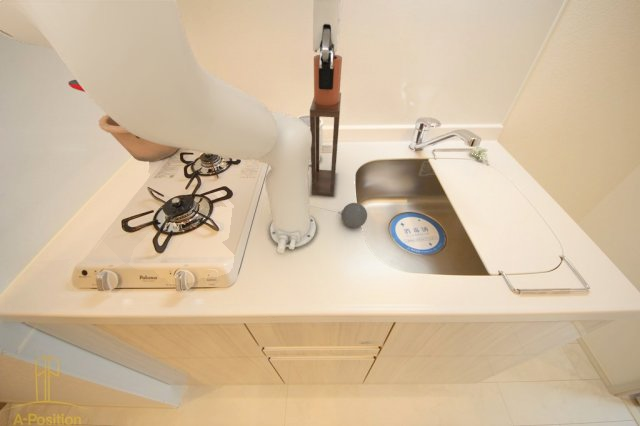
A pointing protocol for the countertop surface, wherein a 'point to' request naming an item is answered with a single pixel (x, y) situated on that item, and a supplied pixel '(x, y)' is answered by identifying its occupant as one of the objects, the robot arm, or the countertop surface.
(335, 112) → the shelf stand
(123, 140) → the pottery
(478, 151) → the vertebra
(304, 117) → the jar
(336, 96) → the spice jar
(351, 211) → the lollipop
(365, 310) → the countertop surface
